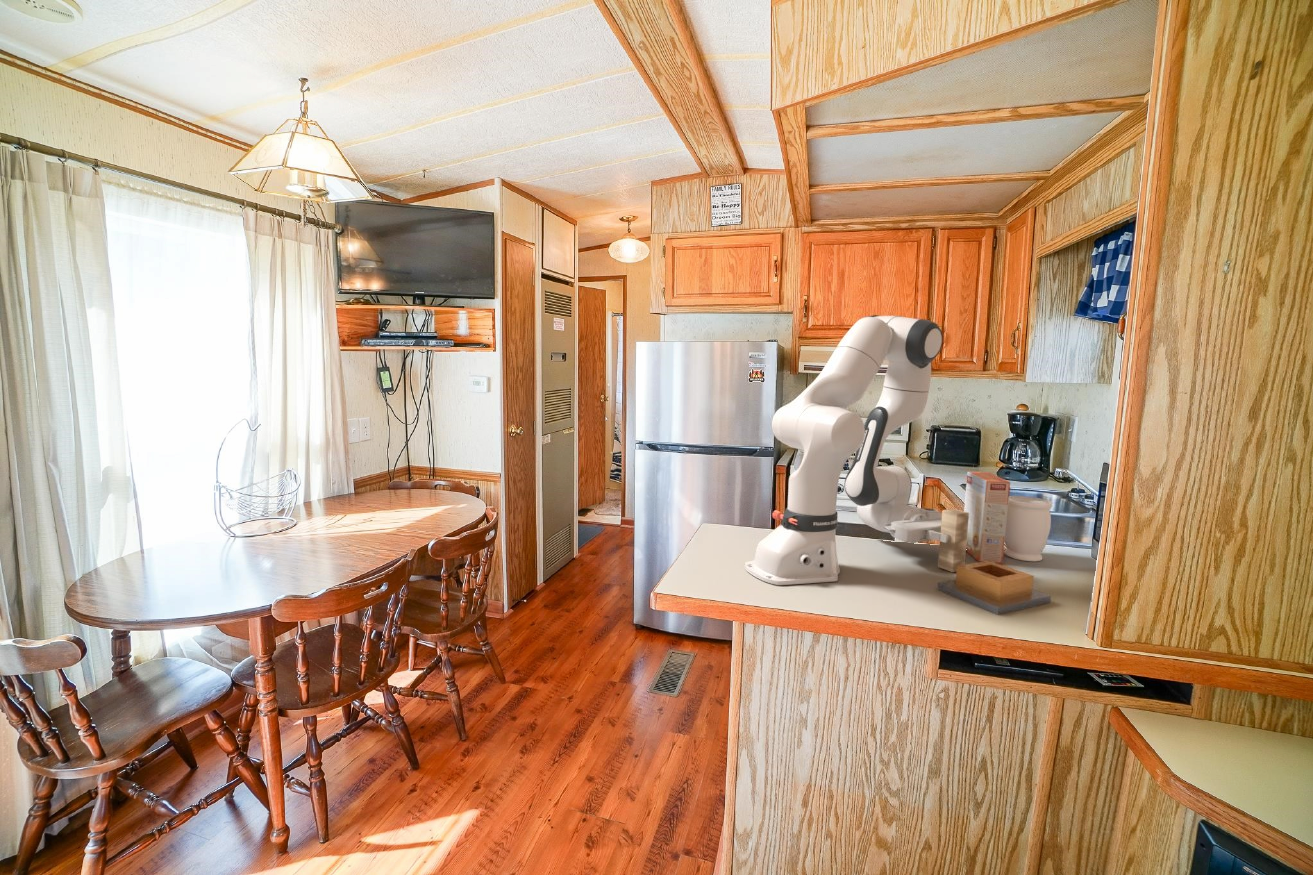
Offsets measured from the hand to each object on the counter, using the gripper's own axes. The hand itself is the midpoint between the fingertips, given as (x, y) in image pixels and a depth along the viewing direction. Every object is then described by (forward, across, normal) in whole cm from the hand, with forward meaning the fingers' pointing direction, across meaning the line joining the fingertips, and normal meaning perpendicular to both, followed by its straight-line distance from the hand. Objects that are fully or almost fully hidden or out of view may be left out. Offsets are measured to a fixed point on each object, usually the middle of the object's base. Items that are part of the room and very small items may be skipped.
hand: (956, 538), depth 136 cm
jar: (-1, +26, +8) cm, 27 cm away
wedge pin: (-1, 0, +8) cm, 8 cm away
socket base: (+14, -6, +8) cm, 17 cm away
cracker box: (-6, +17, +8) cm, 20 cm away
